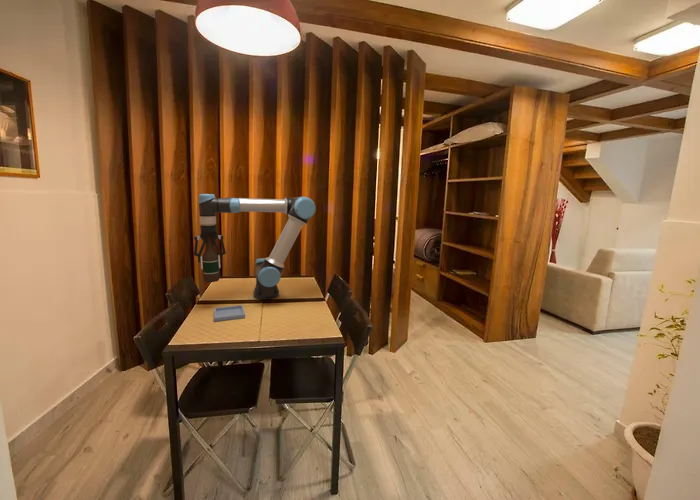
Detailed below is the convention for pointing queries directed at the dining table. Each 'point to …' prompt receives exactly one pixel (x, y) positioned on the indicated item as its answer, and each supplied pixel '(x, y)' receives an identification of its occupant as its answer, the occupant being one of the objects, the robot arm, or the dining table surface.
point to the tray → (229, 313)
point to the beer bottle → (210, 263)
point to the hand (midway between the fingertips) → (211, 268)
